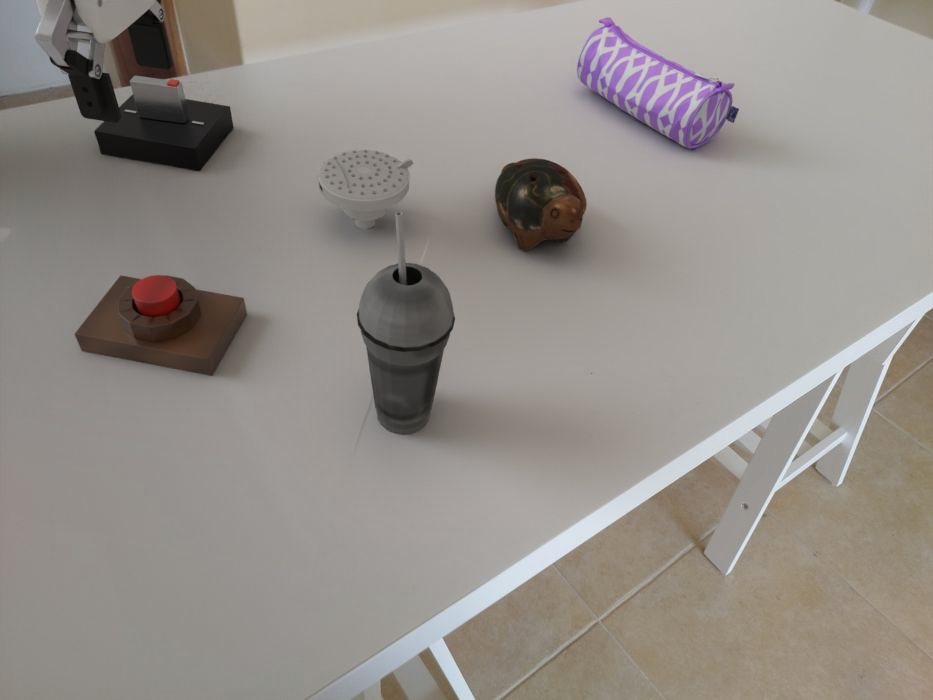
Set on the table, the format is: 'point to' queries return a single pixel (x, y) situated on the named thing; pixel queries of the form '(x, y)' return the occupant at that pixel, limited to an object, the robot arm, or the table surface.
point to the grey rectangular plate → (159, 99)
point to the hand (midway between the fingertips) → (130, 91)
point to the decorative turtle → (539, 201)
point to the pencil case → (654, 87)
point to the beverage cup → (405, 339)
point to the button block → (164, 328)
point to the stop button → (156, 296)
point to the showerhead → (364, 183)
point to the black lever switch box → (167, 135)
